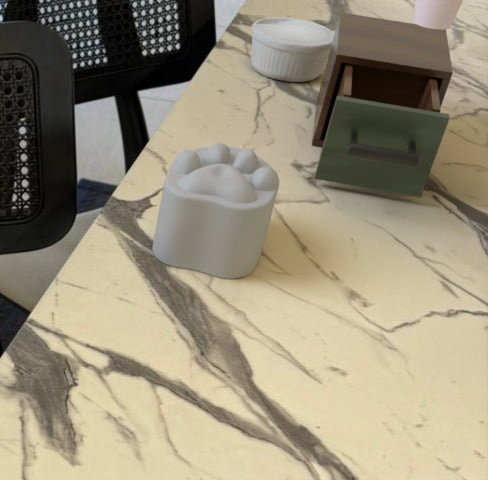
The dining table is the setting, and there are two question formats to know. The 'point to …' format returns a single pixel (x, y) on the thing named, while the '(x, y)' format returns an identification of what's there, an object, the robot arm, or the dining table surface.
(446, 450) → the dining table surface
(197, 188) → the lumpy-topped squat cylinder
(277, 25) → the ramekin
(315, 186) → the dining table surface
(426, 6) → the smoothie
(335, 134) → the drawer
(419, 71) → the cabinet
